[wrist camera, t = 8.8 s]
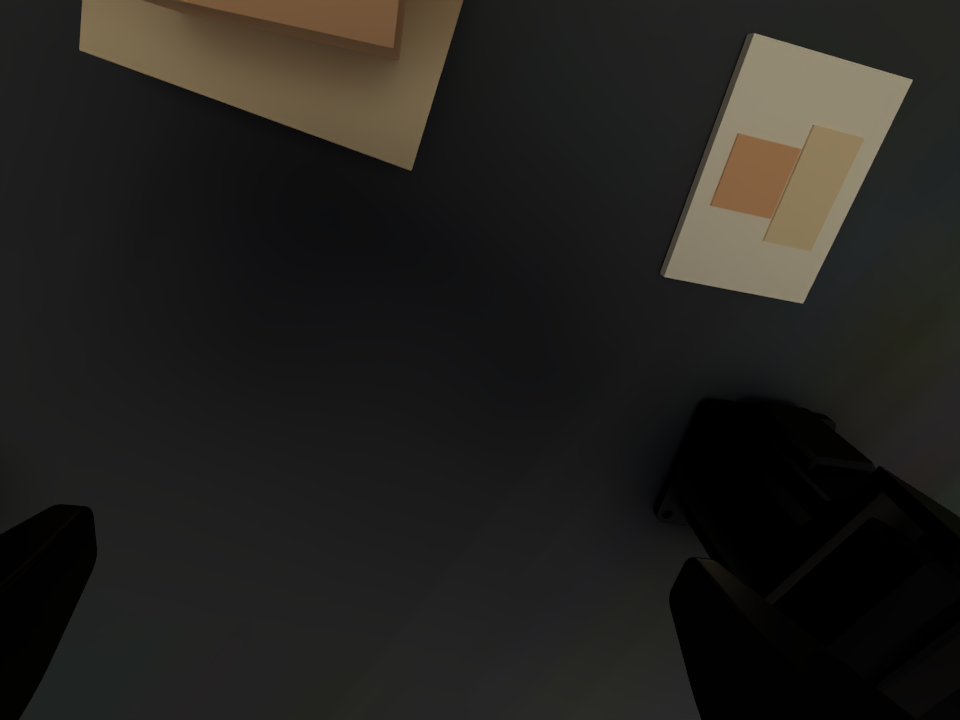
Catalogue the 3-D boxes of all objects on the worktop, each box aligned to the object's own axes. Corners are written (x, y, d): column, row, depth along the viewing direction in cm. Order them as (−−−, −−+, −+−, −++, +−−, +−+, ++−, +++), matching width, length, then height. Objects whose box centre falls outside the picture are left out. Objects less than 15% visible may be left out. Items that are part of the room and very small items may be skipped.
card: (796, 300, 22) (804, 304, 22) (659, 273, 21) (664, 277, 21) (903, 79, 19) (915, 79, 18) (747, 34, 18) (756, 33, 17)
